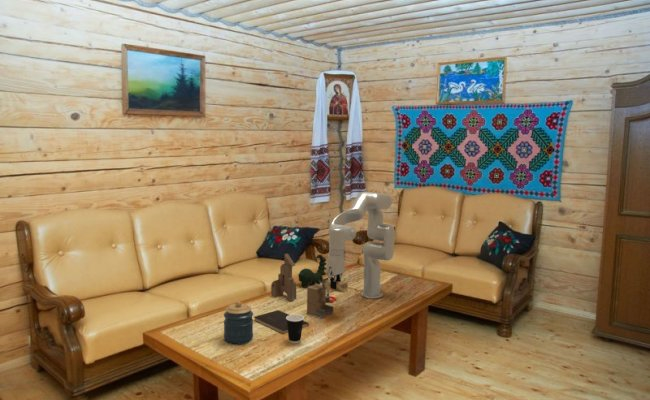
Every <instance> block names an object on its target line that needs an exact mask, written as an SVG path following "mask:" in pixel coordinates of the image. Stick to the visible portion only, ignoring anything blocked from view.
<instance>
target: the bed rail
mask: <svg viewBox="0 0 650 400" xmlns="http://www.w3.org/2000/svg"><path fill="white" fill-rule="evenodd" d="M328 279H329V278H328V277H325V278H323V279H322V281H321V285H322V290H324V289H325V290H326V291H327V290H329V292H330V291H332V292H335V293H336V292H337V293H344V294H345V293H347V292H348V290H349V289H348V282H344V281H341V282H340V281H336V289H331V288H330V285H331V281H330V279H329V280H328Z"/></svg>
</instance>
